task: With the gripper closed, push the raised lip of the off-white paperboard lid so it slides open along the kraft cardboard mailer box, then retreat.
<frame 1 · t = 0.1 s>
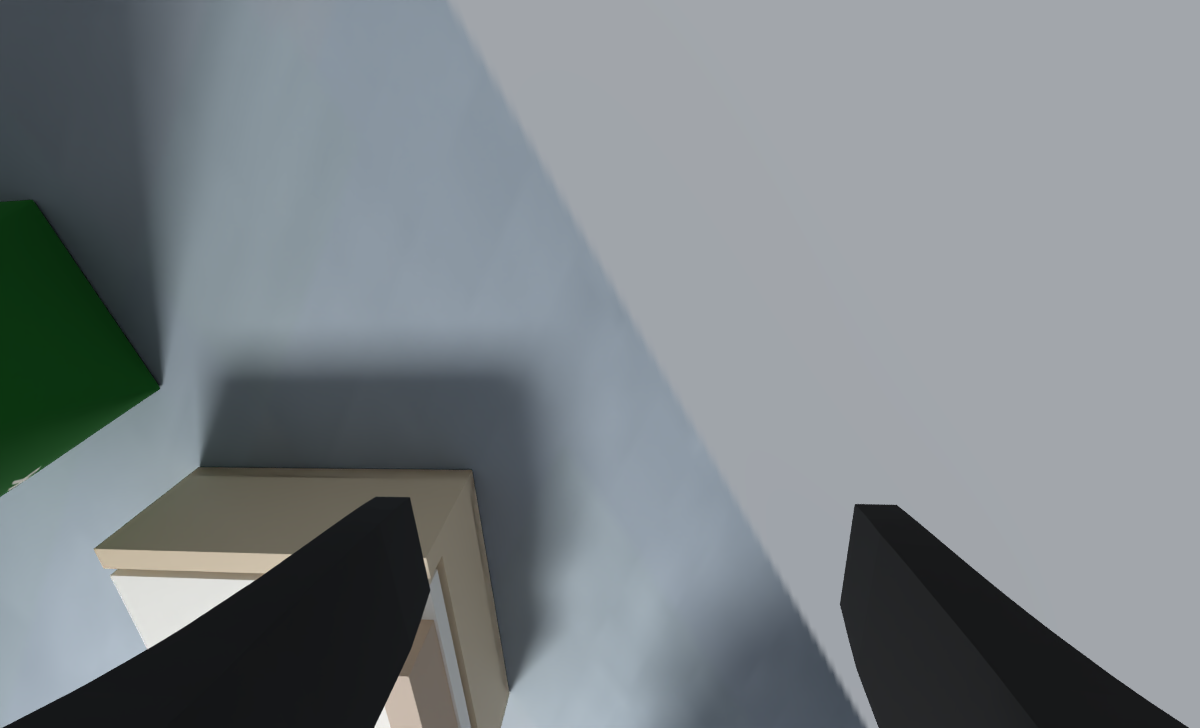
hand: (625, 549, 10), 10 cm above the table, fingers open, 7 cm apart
lid: (293, 705, 20), point 5 cm above the table, slide at 0.0 cm
mailer box: (365, 588, 24), on the table
milk carton: (33, 322, 21), on the table
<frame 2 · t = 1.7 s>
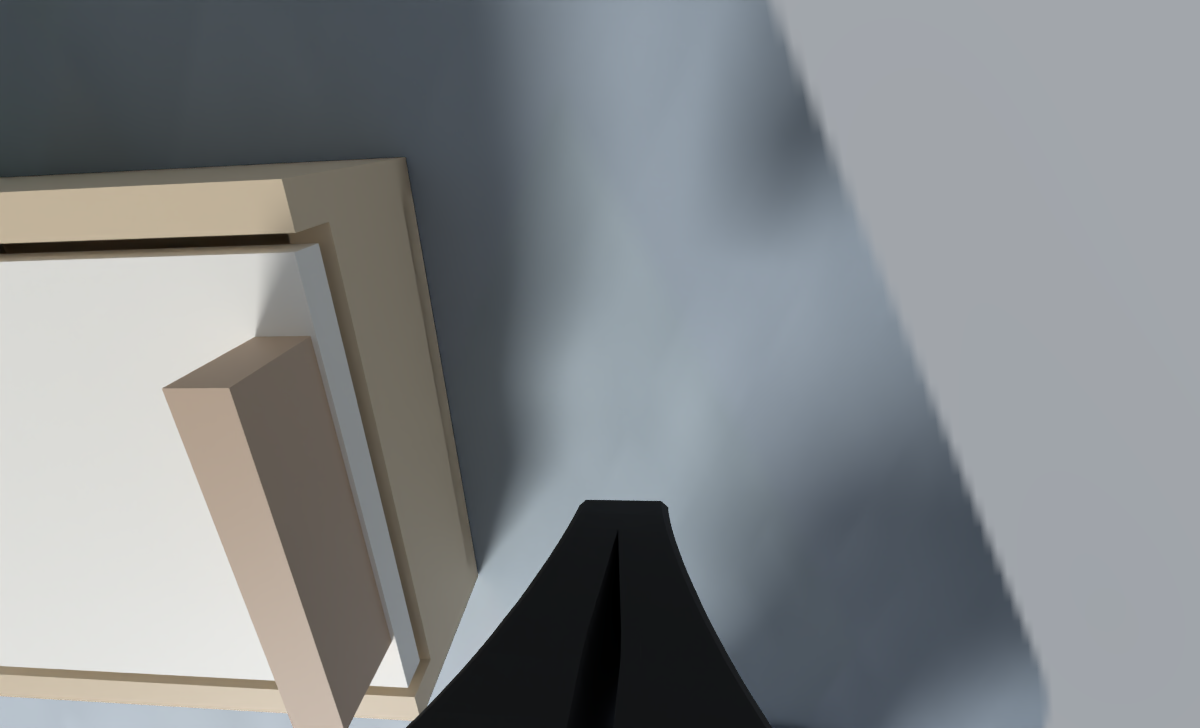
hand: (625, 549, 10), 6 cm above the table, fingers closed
lid: (75, 524, 11), point 5 cm above the table, slide at 0.0 cm
mailer box: (252, 399, 16), on the table
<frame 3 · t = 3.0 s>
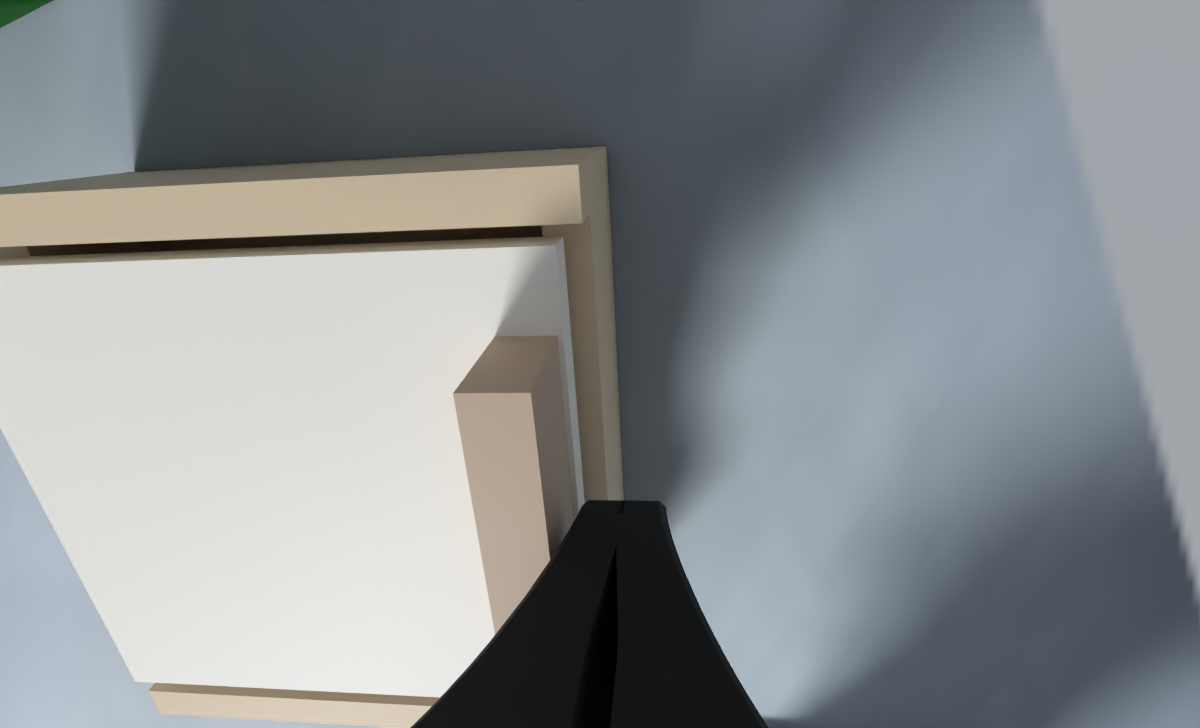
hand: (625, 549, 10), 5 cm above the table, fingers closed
lid: (276, 536, 10), point 5 cm above the table, slide at 0.3 cm, touching gripper
mailer box: (409, 402, 15), on the table
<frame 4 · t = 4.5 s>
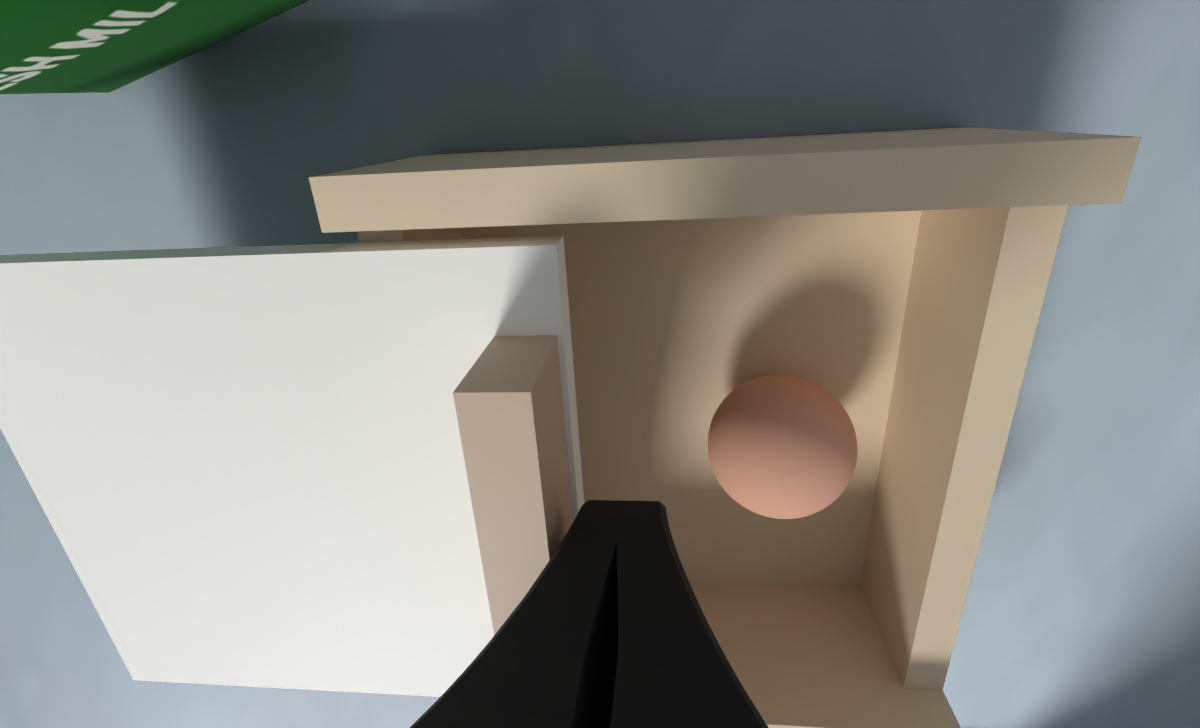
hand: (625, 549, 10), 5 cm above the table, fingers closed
lid: (275, 535, 10), point 5 cm above the table, slide at 7.4 cm, touching gripper
ball: (767, 411, 14), point 1 cm above the table, touching mailer box
mailer box: (681, 400, 14), on the table
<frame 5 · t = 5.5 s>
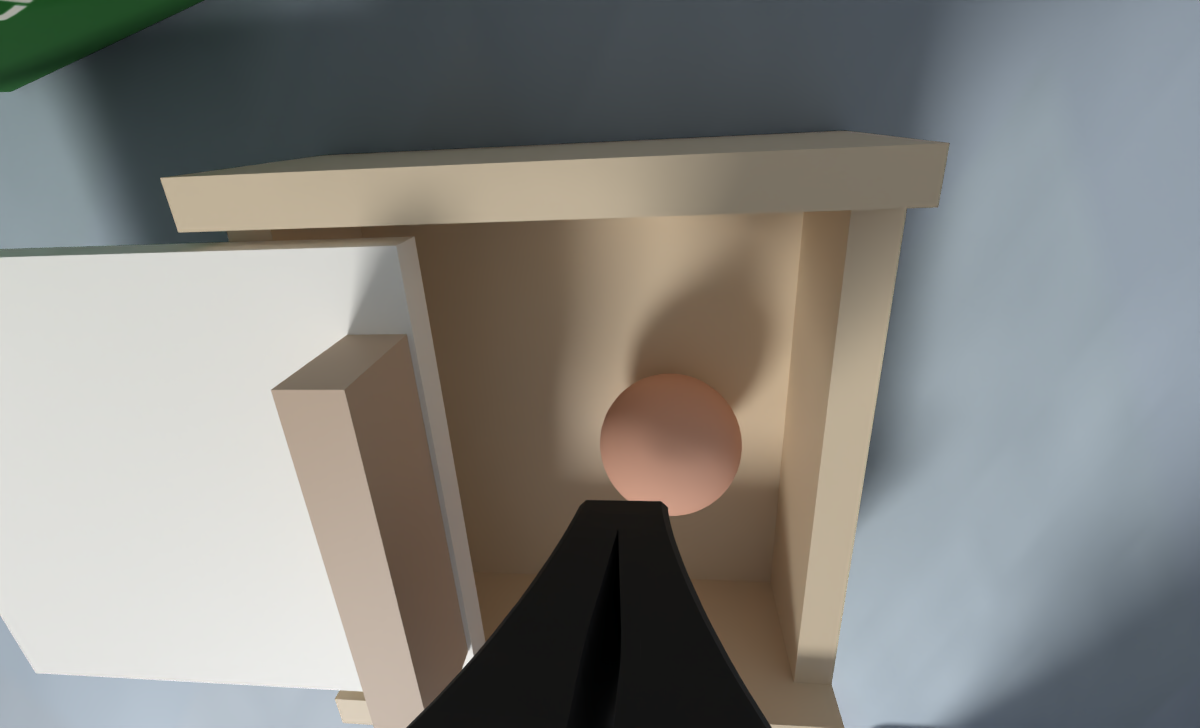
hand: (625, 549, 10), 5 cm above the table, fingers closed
lid: (148, 530, 11), point 5 cm above the table, slide at 7.5 cm
ball: (669, 410, 14), point 1 cm above the table, touching mailer box
mailer box: (588, 398, 15), on the table
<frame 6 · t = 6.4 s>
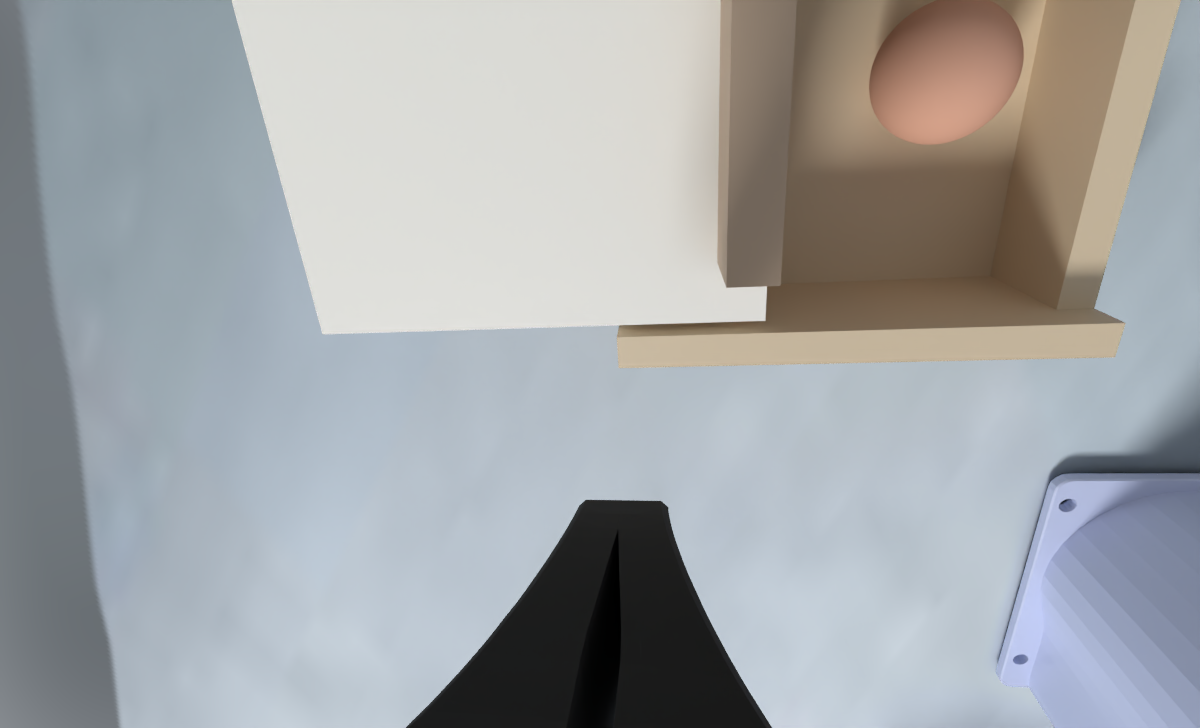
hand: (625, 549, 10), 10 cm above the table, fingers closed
lid: (499, 103, 11), point 5 cm above the table, slide at 7.5 cm
ball: (915, 77, 15), point 1 cm above the table, touching mailer box
mailer box: (826, 84, 15), on the table
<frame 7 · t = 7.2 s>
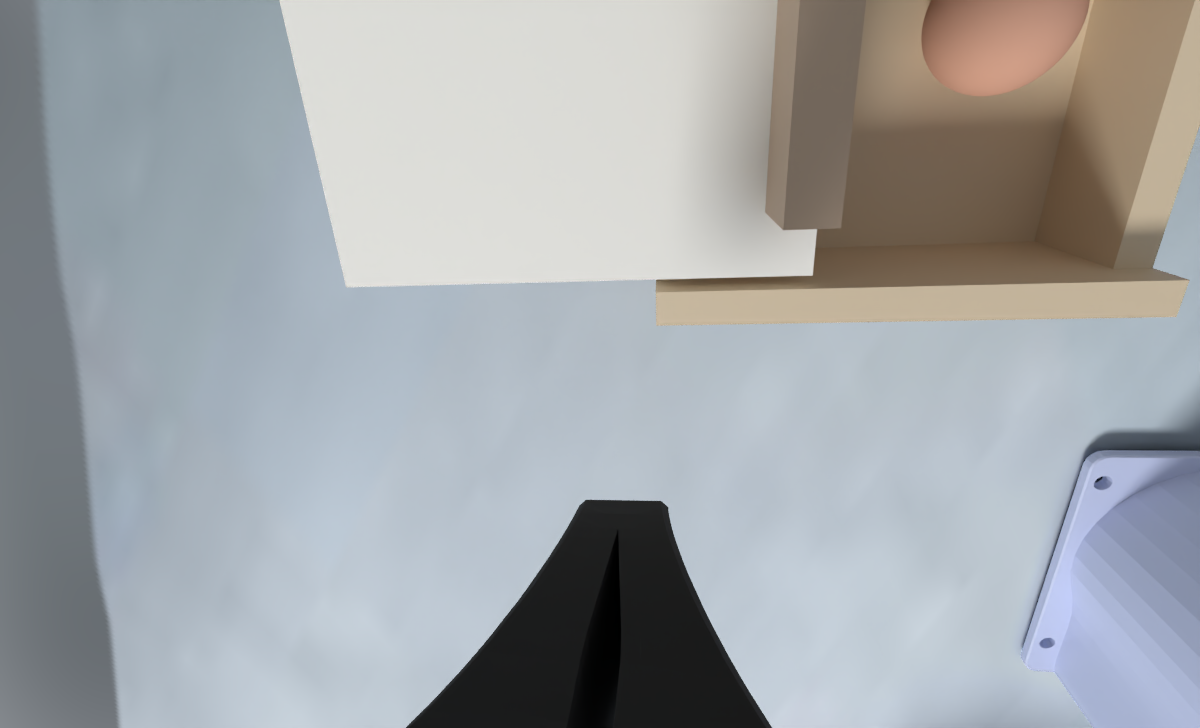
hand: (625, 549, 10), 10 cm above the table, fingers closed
lid: (544, 34, 11), point 5 cm above the table, slide at 7.5 cm
ball: (966, 29, 14), point 1 cm above the table, touching mailer box
mailer box: (871, 37, 15), on the table
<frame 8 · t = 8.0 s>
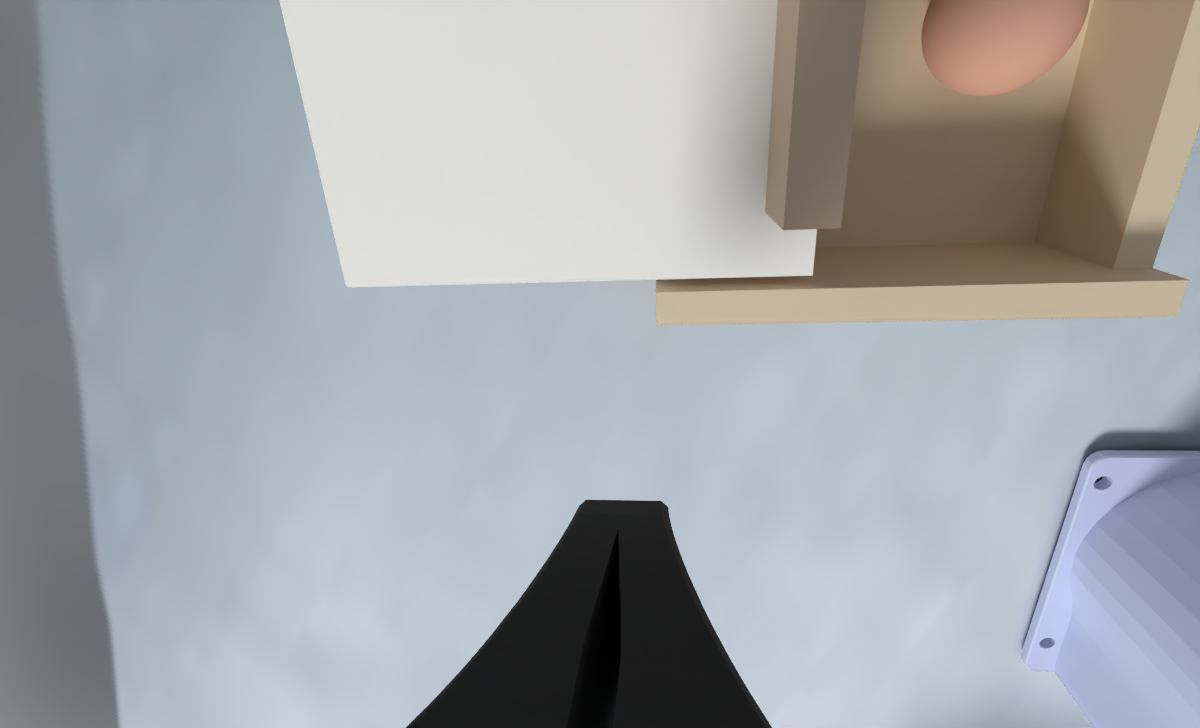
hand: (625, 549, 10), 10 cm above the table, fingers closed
lid: (544, 34, 11), point 5 cm above the table, slide at 7.5 cm
ball: (966, 29, 14), point 1 cm above the table, touching mailer box
mailer box: (871, 37, 15), on the table
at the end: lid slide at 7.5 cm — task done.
